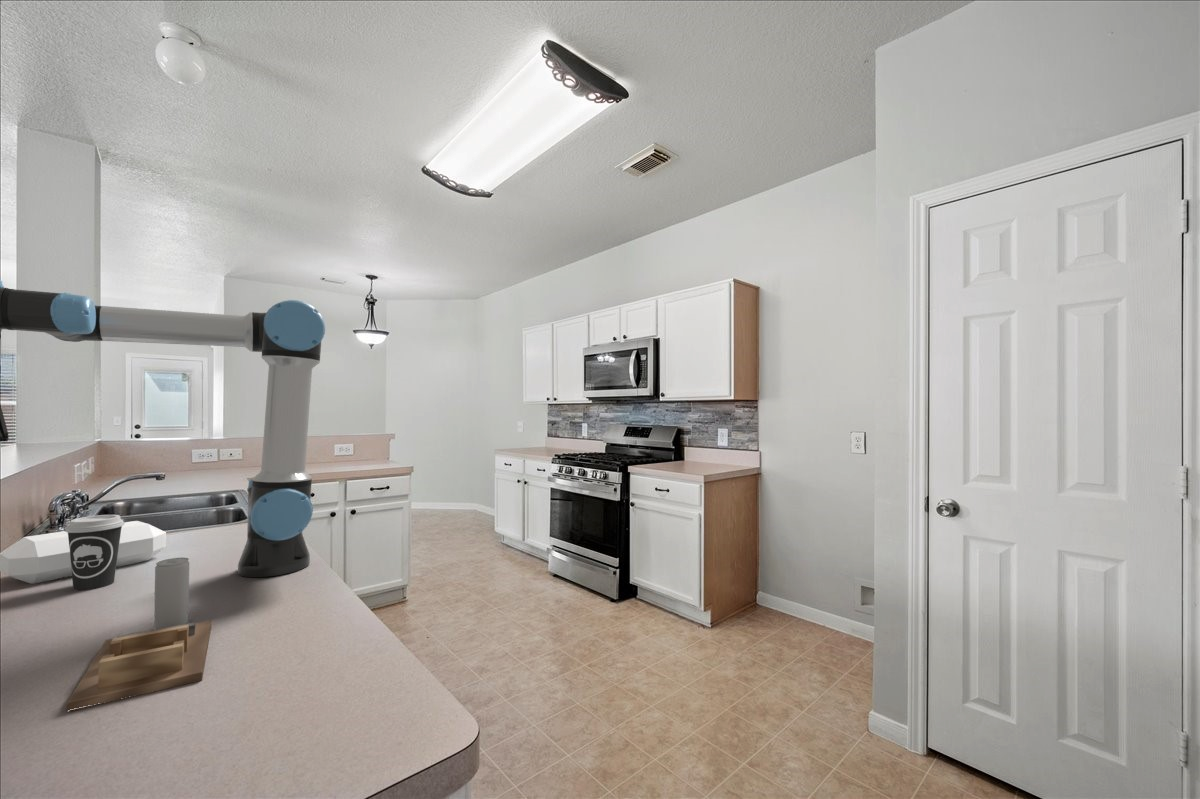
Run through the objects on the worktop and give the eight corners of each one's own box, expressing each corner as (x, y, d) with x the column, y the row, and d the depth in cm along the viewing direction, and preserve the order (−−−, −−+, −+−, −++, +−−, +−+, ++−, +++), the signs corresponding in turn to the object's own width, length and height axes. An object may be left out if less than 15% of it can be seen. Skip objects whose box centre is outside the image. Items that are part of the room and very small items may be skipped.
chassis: (211, 627, 93) (211, 601, 93) (202, 680, 74) (202, 648, 75) (105, 647, 85) (106, 618, 85) (66, 712, 66) (67, 676, 67)
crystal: (172, 522, 134) (13, 547, 110) (171, 559, 134) (12, 592, 110) (149, 516, 142) (-5, 538, 117) (148, 551, 141) (-6, 580, 117)
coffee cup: (133, 580, 117) (134, 515, 117) (79, 595, 108) (81, 524, 108) (107, 576, 120) (108, 512, 120) (52, 589, 111) (54, 521, 111)
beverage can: (168, 634, 90) (169, 565, 90) (146, 631, 91) (147, 564, 91) (195, 622, 94) (196, 558, 95) (174, 620, 95) (175, 556, 96)
